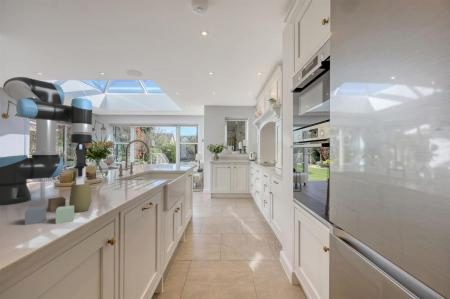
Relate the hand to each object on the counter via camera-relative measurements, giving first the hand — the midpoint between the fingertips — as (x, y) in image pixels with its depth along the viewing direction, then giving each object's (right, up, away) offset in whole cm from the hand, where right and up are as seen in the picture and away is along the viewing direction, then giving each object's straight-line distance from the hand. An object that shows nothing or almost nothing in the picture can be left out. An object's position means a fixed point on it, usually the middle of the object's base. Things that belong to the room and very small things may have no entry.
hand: (81, 182), depth 91 cm
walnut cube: (-12, -12, +1) cm, 17 cm away
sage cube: (+3, -12, -13) cm, 18 cm away
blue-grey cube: (-7, -12, -14) cm, 20 cm away
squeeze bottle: (0, -13, 0) cm, 13 cm away
